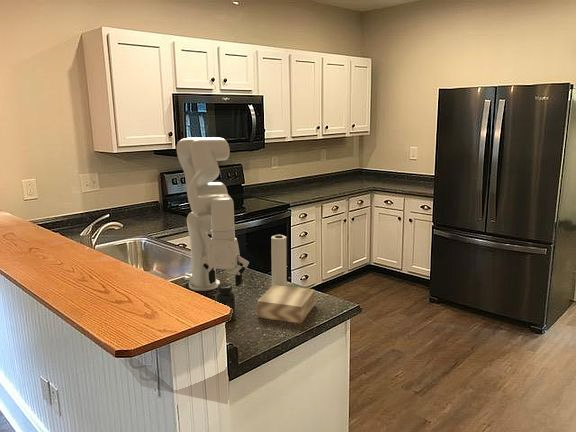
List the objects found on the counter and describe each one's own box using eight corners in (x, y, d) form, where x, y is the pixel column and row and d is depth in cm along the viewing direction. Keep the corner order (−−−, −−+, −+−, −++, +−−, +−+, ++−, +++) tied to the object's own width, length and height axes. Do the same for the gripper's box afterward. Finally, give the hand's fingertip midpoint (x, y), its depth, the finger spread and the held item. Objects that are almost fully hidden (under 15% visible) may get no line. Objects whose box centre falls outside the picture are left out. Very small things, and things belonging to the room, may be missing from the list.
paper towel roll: (281, 291, 184) (281, 239, 179) (268, 288, 187) (268, 237, 182) (290, 285, 190) (290, 235, 185) (278, 283, 193) (277, 233, 188)
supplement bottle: (236, 313, 164) (236, 281, 161) (235, 322, 157) (234, 289, 154) (217, 314, 163) (216, 281, 161) (215, 322, 157) (213, 289, 154)
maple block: (257, 317, 161) (257, 300, 159) (273, 299, 175) (273, 284, 174) (301, 323, 156) (301, 306, 154) (314, 305, 171) (314, 289, 169)
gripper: (194, 235, 153) (197, 285, 156) (242, 238, 147) (244, 290, 150) (205, 230, 160) (207, 278, 163) (251, 233, 154) (253, 282, 157)
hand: (225, 283), depth 157 cm, fingers open, 9 cm apart
